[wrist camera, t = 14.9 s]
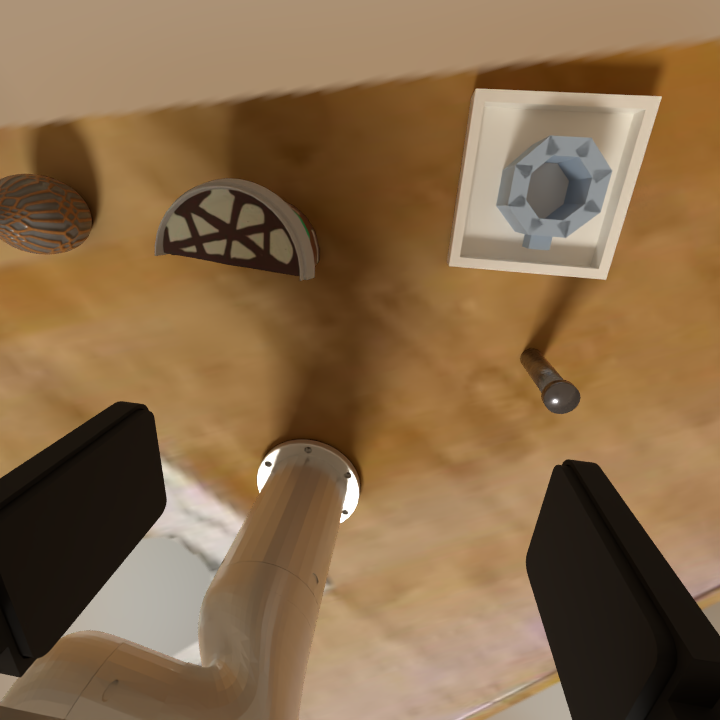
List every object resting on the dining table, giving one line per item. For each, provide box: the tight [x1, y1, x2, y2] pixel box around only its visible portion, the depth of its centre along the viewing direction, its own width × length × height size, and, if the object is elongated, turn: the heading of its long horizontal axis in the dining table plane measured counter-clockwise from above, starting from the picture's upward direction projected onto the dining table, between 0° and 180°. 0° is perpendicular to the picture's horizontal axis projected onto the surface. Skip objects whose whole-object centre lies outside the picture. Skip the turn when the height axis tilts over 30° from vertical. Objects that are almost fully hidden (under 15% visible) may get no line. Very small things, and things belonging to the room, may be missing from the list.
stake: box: [520, 349, 580, 414], centre depth 34 cm, size 3×3×9 cm
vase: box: [0, 174, 92, 254], centre depth 35 cm, size 7×7×9 cm
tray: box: [447, 88, 662, 280], centre depth 32 cm, size 13×13×2 cm
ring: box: [496, 135, 612, 250], centre depth 30 cm, size 7×8×4 cm
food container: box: [155, 178, 319, 281], centre depth 32 cm, size 12×6×10 cm, turn 82°
